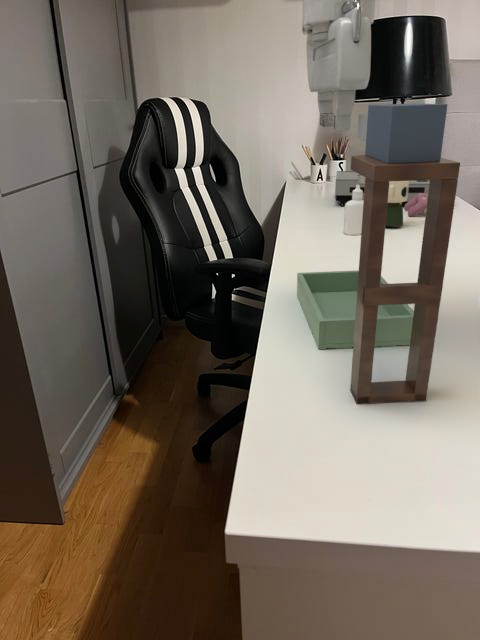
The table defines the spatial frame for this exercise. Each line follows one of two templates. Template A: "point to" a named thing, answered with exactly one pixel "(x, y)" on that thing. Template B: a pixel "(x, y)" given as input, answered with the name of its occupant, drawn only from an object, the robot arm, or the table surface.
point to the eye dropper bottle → (354, 213)
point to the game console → (350, 179)
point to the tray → (347, 311)
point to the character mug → (396, 202)
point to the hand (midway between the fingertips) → (333, 128)
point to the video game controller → (417, 204)
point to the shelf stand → (419, 293)
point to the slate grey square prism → (403, 132)
